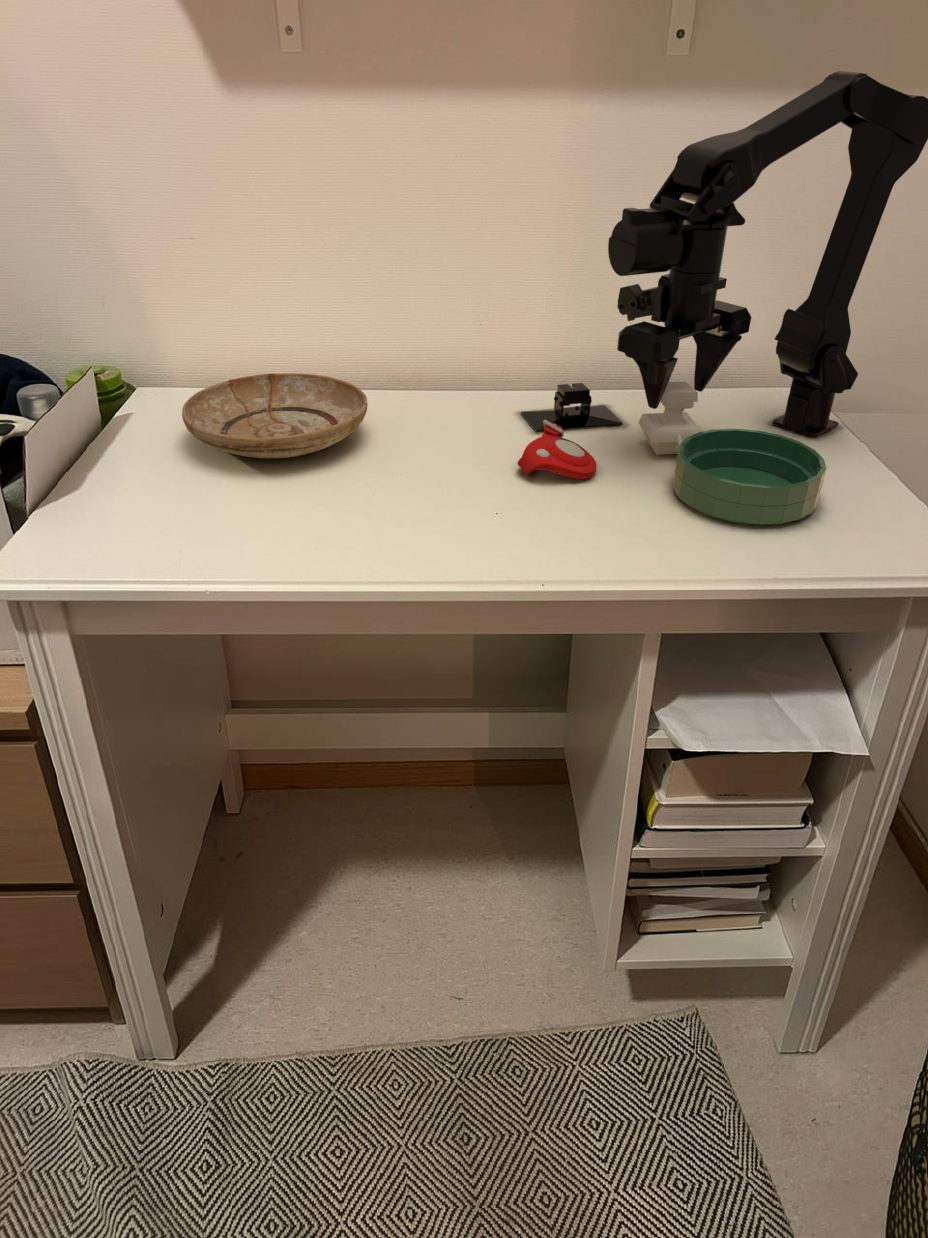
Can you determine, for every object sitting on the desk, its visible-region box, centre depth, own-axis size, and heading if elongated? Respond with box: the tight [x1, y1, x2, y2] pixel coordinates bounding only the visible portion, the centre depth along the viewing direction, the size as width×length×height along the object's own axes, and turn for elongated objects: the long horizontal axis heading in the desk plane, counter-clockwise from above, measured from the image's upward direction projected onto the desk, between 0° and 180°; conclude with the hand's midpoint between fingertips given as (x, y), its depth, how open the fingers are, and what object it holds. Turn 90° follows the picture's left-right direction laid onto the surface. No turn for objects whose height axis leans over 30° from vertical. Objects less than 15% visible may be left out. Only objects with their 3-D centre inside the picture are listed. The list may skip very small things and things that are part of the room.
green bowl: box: [672, 428, 827, 527], centre depth 105 cm, size 16×16×5 cm
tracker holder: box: [517, 420, 598, 480], centre depth 112 cm, size 12×4×10 cm
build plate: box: [520, 382, 623, 434], centre depth 124 cm, size 12×7×5 cm, turn 105°
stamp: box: [638, 381, 703, 455], centre depth 115 cm, size 9×7×8 cm
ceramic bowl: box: [181, 372, 369, 459], centre depth 118 cm, size 23×24×5 cm
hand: (676, 398), depth 114 cm, fingers open, 9 cm apart
